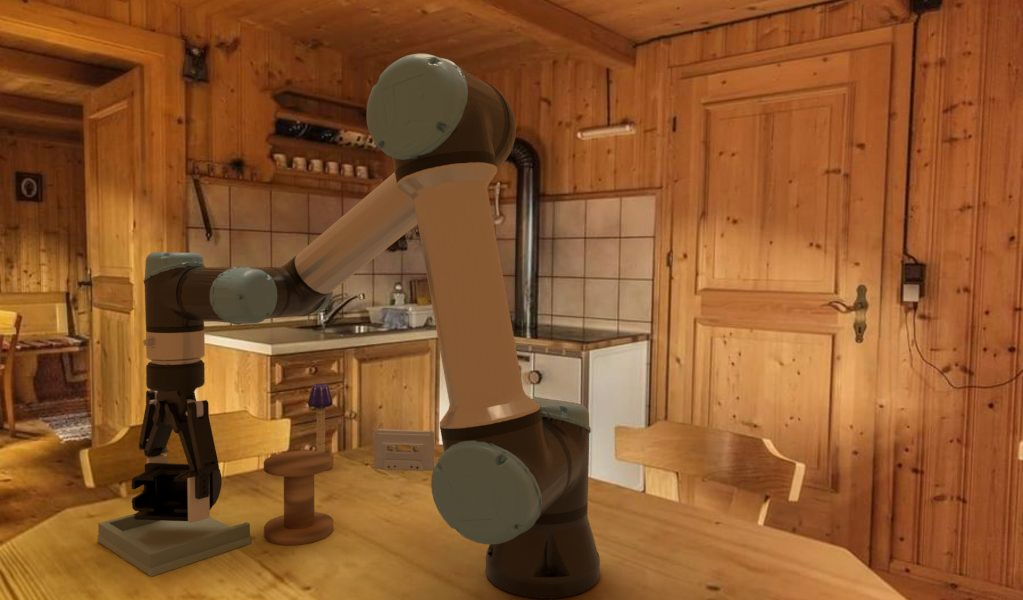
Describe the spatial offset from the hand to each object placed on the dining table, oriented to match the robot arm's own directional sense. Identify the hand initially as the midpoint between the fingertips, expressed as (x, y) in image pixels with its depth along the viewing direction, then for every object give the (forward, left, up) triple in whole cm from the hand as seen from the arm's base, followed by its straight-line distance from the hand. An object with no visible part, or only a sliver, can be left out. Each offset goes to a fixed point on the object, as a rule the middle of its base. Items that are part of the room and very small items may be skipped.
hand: (177, 509), depth 100 cm
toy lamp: (+14, -35, -5) cm, 38 cm away
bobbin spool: (-10, -14, -5) cm, 17 cm away
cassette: (+2, -46, -5) cm, 46 cm away
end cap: (0, 0, 0) cm, 0 cm away
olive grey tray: (0, 0, -5) cm, 5 cm away
